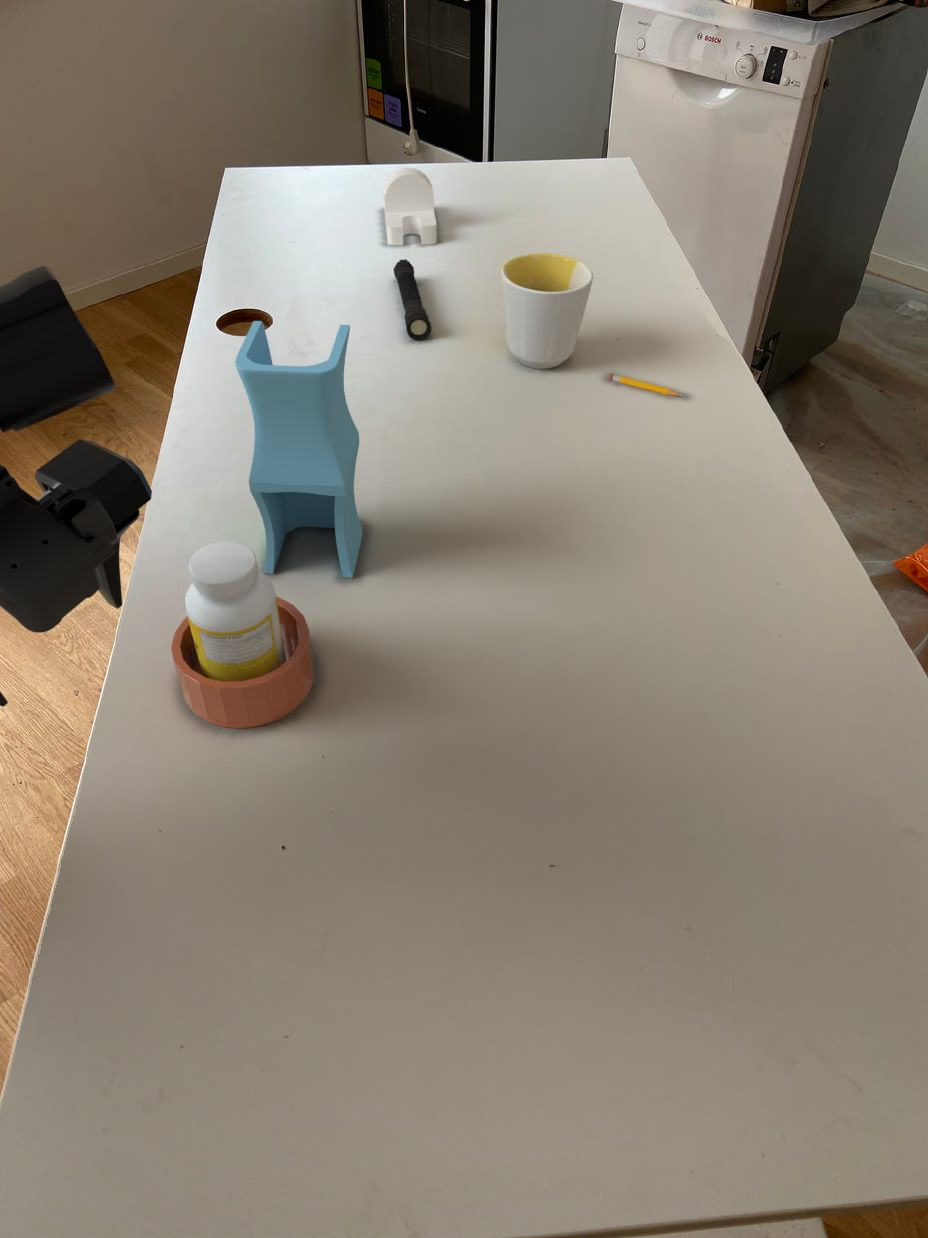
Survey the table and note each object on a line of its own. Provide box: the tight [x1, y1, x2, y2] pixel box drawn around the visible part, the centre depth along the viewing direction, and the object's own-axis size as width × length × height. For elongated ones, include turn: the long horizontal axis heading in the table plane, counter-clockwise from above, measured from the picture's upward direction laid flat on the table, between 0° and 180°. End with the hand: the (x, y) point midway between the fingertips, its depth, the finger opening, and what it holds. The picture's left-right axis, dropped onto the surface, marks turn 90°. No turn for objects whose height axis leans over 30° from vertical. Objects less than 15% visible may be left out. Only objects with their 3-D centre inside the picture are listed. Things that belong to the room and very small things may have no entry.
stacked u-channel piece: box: [234, 320, 363, 579], centre depth 81 cm, size 8×8×20 cm
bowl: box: [170, 596, 315, 729], centre depth 75 cm, size 10×10×4 cm
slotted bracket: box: [383, 167, 438, 246], centre depth 139 cm, size 13×7×8 cm, turn 6°
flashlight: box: [393, 259, 432, 342], centre depth 122 cm, size 3×16×3 cm, turn 9°
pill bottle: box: [184, 540, 286, 682], centre depth 72 cm, size 6×6×12 cm
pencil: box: [609, 373, 684, 397], centre depth 109 cm, size 1×8×1 cm, turn 64°
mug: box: [500, 252, 594, 370], centre depth 112 cm, size 14×10×10 cm
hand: (60, 652), depth 62 cm, fingers open, 9 cm apart
